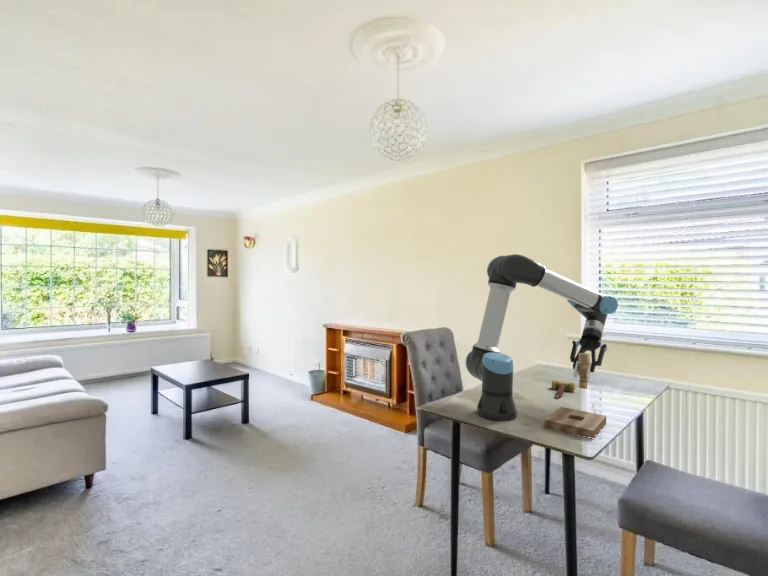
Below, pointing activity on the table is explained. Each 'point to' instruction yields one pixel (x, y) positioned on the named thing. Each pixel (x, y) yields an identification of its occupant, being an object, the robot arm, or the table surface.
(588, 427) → the board
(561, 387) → the gavel
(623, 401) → the table surface
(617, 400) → the table surface
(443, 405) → the table surface
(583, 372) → the peg
